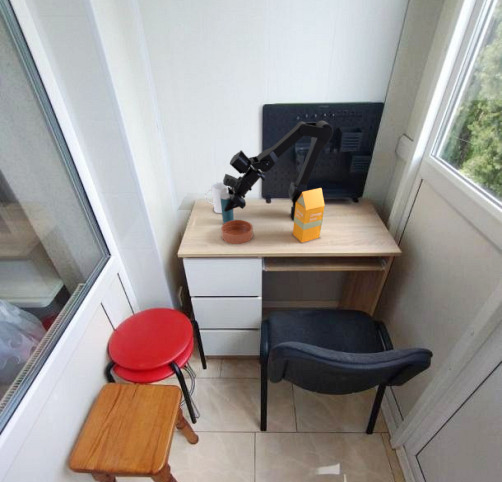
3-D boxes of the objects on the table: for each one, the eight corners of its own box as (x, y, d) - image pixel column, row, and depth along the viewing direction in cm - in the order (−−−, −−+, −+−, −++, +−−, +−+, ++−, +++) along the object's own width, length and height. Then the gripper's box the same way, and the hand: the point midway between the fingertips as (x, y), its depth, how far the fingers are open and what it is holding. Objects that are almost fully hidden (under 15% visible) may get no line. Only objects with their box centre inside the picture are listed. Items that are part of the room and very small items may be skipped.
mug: (205, 213, 139) (202, 188, 130) (209, 205, 145) (206, 181, 136) (229, 213, 138) (227, 189, 129) (231, 205, 144) (230, 182, 135)
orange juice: (292, 234, 123) (296, 188, 109) (309, 229, 126) (316, 184, 112) (301, 242, 118) (307, 195, 104) (319, 237, 120) (327, 191, 106)
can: (235, 218, 131) (234, 194, 123) (231, 224, 127) (229, 199, 119) (225, 217, 132) (223, 192, 124) (220, 222, 129) (218, 197, 121)
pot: (252, 228, 127) (252, 219, 124) (252, 244, 117) (252, 235, 114) (223, 229, 127) (222, 220, 124) (221, 245, 118) (220, 235, 114)
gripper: (231, 160, 121) (208, 188, 127) (236, 176, 108) (210, 206, 114) (249, 177, 127) (227, 203, 134) (256, 194, 114) (231, 222, 120)
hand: (224, 208), depth 125 cm, fingers closed on can, 5 cm apart
